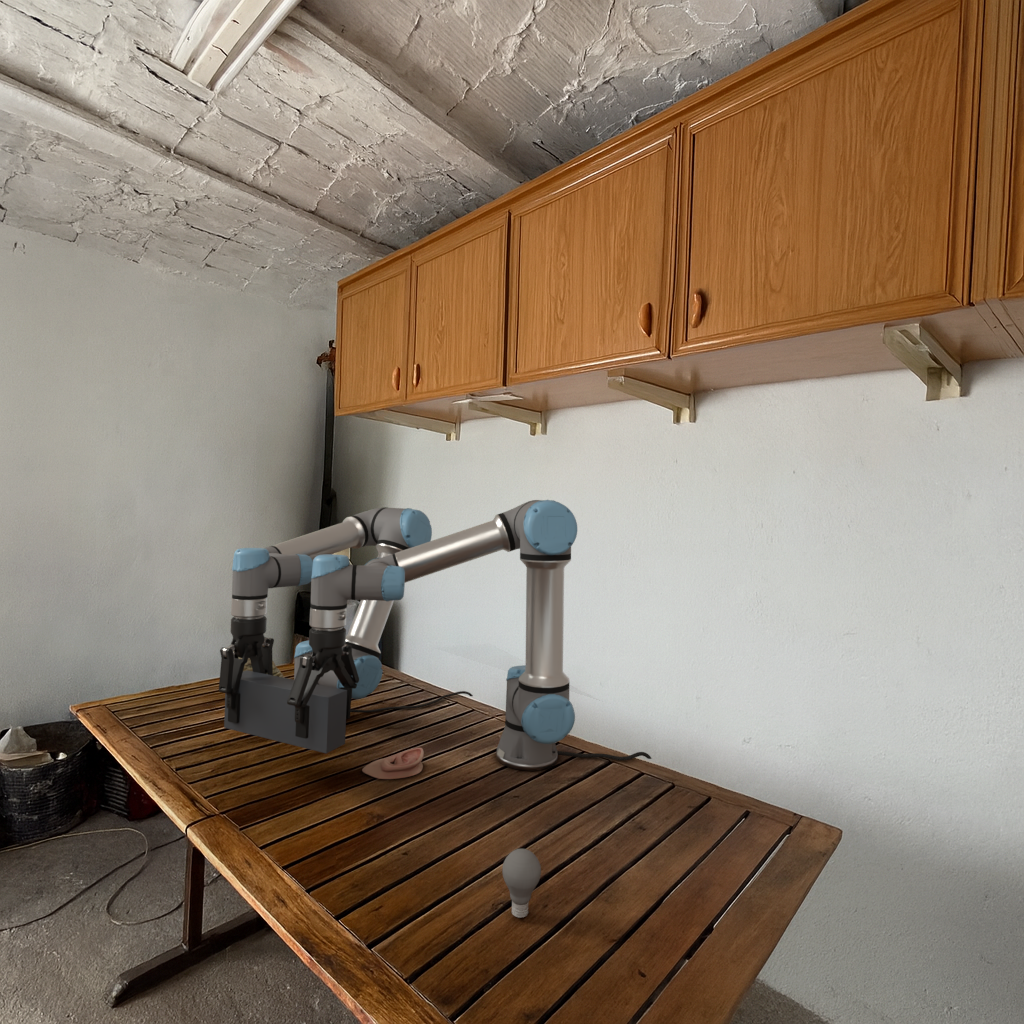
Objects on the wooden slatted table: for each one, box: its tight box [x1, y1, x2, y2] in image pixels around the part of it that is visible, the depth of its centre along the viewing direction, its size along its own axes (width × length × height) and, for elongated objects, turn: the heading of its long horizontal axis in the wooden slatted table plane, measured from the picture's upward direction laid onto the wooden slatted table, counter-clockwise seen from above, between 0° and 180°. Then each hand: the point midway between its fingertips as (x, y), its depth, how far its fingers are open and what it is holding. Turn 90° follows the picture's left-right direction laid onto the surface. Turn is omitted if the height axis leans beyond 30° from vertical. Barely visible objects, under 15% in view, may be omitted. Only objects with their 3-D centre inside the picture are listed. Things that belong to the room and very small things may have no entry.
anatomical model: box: [361, 747, 425, 780], centre depth 148 cm, size 13×4×12 cm
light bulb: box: [502, 848, 542, 919], centre depth 98 cm, size 6×6×10 cm
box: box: [223, 670, 347, 754], centre depth 140 cm, size 29×6×12 cm, turn 66°
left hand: (245, 717), depth 144 cm, fingers closed on box, 6 cm apart
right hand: (323, 726), depth 135 cm, fingers open, 13 cm apart
